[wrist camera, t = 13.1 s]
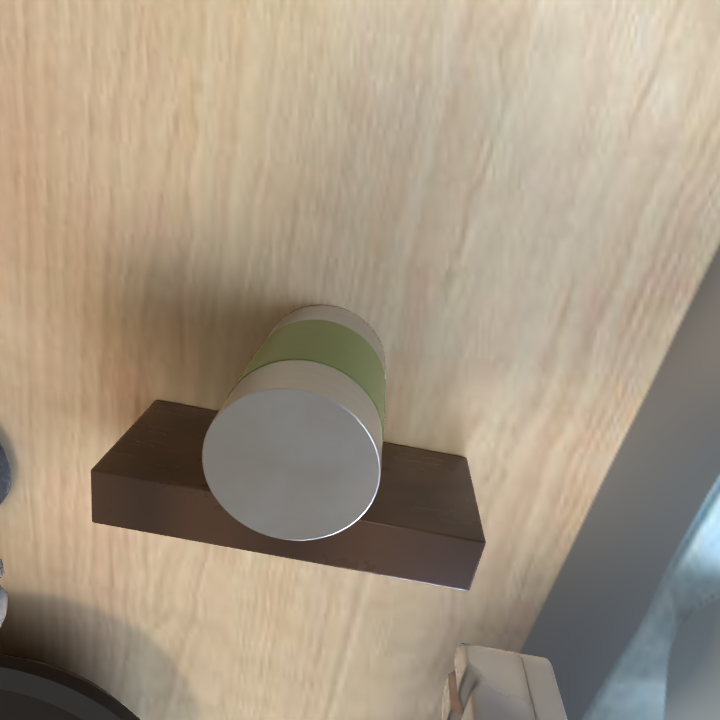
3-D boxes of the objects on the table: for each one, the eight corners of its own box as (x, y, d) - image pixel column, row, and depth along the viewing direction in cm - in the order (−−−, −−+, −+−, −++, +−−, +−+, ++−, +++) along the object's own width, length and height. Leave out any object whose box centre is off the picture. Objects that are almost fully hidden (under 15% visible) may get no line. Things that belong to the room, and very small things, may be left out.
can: (361, 286, 27) (343, 362, 18) (402, 399, 29) (406, 518, 20) (242, 326, 28) (168, 417, 19) (291, 432, 30) (245, 559, 21)
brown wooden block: (466, 457, 30) (486, 542, 24) (444, 532, 32) (456, 630, 26) (155, 399, 30) (90, 469, 24) (153, 479, 32) (92, 563, 26)
